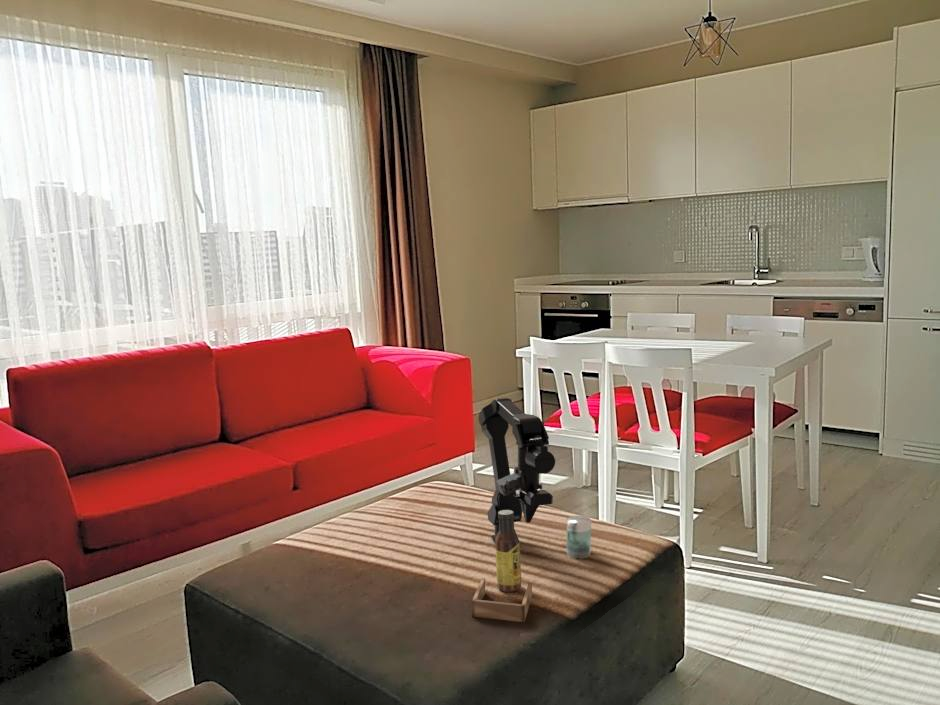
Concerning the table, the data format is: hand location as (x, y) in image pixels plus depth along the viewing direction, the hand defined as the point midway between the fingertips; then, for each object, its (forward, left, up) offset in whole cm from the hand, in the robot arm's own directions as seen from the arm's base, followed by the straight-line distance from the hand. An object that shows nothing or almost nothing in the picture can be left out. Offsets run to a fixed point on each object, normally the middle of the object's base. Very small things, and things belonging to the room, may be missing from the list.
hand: (527, 522), depth 210 cm
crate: (+18, -12, -13) cm, 25 cm away
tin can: (-5, +16, -13) cm, 22 cm away
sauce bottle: (+10, -8, -13) cm, 18 cm away
